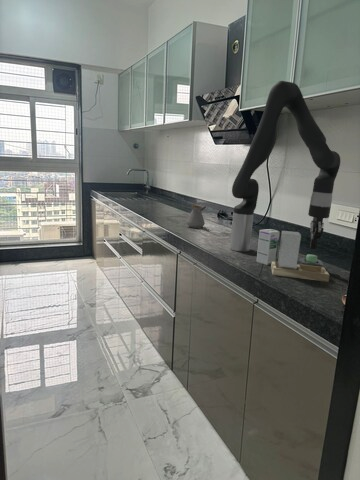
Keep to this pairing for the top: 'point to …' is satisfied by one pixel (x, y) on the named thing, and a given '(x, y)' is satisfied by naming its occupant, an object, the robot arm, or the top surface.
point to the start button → (311, 258)
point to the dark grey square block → (303, 262)
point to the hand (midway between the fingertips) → (313, 248)
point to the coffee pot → (196, 217)
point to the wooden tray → (302, 272)
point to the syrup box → (268, 246)
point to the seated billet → (289, 250)
